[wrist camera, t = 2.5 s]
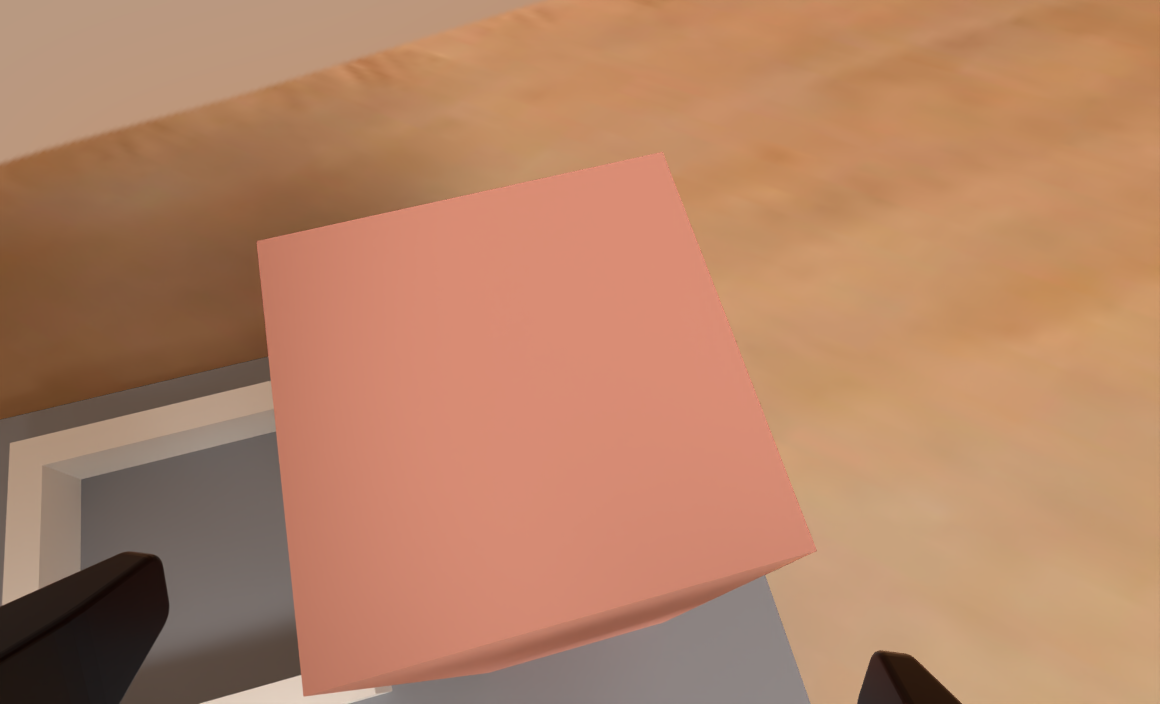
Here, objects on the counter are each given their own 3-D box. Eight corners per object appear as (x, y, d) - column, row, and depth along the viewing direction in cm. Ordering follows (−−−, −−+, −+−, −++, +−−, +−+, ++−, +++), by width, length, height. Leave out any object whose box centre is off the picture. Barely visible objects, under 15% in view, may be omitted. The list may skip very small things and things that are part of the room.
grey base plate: (-67, 1124, 15) (-175, 1201, 13) (-21, 438, 20) (-91, 412, 18) (844, 825, 17) (882, 850, 15) (652, 278, 22) (660, 238, 20)
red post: (488, 672, 17) (303, 697, 6) (453, 496, 19) (255, 241, 7) (663, 622, 18) (816, 550, 6) (614, 454, 19) (662, 152, 8)
